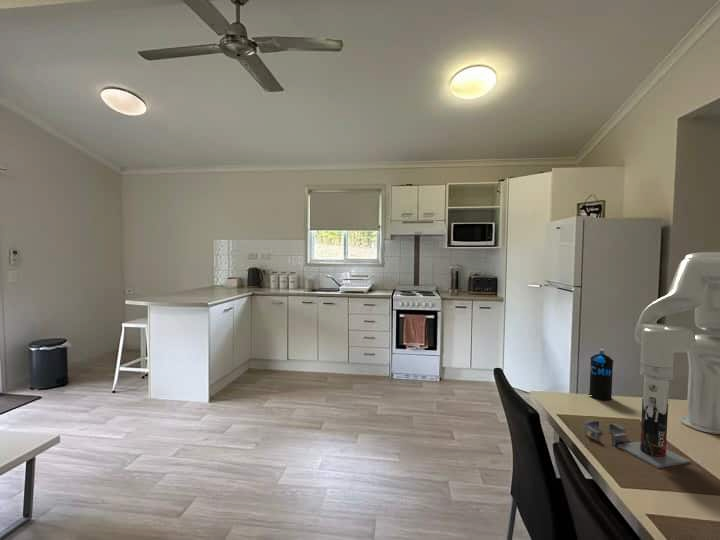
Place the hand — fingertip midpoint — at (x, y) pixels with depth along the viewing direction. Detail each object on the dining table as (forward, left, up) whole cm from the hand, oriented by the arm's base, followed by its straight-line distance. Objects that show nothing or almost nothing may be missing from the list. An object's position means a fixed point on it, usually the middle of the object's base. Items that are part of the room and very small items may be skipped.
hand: (653, 428), depth 110 cm
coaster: (0, 0, -8) cm, 8 cm away
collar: (+4, -12, -8) cm, 15 cm away
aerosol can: (-25, -40, -8) cm, 48 cm away
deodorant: (0, 0, -7) cm, 7 cm away
